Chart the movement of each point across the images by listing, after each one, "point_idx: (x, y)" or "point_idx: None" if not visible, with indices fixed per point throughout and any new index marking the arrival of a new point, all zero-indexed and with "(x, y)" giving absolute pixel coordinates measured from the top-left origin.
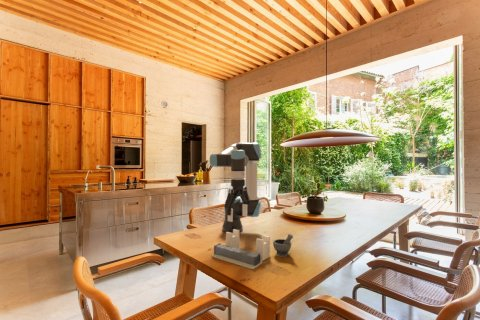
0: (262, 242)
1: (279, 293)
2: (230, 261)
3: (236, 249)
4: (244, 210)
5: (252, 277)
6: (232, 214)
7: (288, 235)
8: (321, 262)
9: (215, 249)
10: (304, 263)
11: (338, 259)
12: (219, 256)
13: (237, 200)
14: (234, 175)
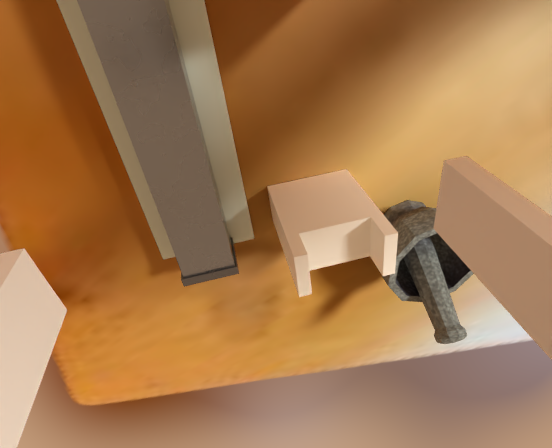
0: (295, 284)
1: (118, 391)
2: (109, 126)
3: (175, 134)
4: (499, 256)
5: (109, 299)
6: (21, 418)
7: (444, 337)
8: (406, 338)
9: None
10: (365, 318)
11: (459, 348)
12: (75, 4)
13: None
14: None
